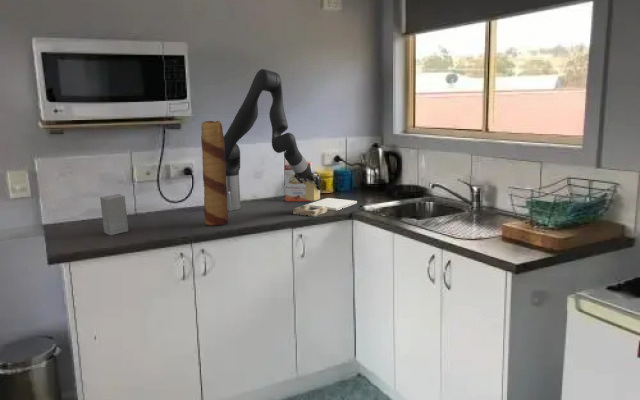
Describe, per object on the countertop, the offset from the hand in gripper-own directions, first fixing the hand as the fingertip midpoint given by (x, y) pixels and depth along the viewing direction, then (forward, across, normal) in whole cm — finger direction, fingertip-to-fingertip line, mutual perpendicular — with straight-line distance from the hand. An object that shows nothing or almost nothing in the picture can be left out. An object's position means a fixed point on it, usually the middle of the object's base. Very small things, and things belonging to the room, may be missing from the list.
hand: (314, 187), depth 248 cm
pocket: (+5, 0, +10) cm, 12 cm away
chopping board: (+19, 0, -3) cm, 19 cm away
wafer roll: (-22, +23, +39) cm, 50 cm away
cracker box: (+20, +22, -3) cm, 30 cm away
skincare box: (-45, +49, +63) cm, 91 cm away
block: (+2, 0, +5) cm, 6 cm away
